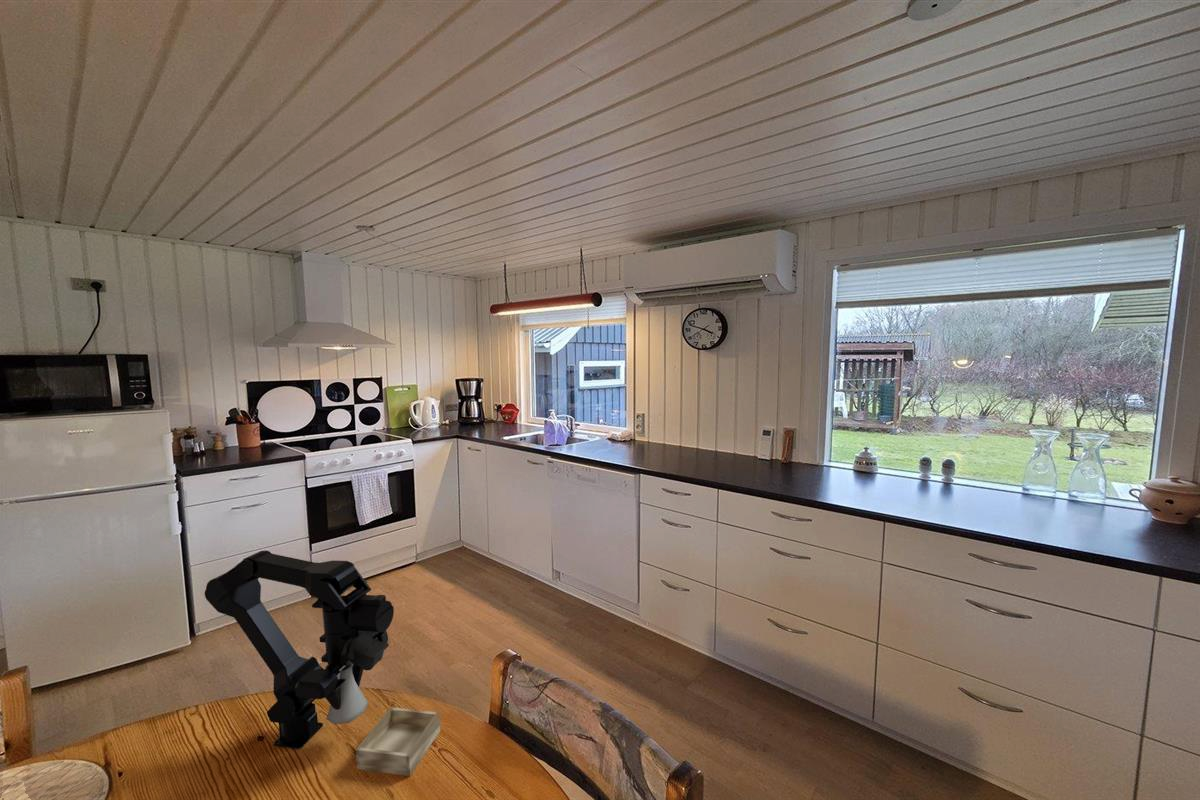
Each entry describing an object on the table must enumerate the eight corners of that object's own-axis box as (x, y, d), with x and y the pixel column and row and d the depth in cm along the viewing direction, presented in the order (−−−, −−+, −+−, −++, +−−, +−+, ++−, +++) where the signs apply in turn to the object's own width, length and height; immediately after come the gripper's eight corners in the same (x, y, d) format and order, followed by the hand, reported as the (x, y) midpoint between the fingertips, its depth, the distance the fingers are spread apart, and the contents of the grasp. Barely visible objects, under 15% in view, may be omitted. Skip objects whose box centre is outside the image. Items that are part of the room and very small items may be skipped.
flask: (350, 728, 93) (346, 679, 92) (318, 723, 95) (314, 675, 94) (375, 701, 100) (371, 656, 100) (345, 697, 102) (341, 653, 101)
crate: (357, 768, 92) (355, 749, 91) (392, 724, 103) (390, 707, 102) (410, 776, 90) (408, 756, 89) (440, 730, 101) (439, 712, 100)
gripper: (343, 659, 85) (350, 740, 87) (403, 605, 104) (408, 673, 105) (289, 654, 87) (297, 733, 89) (357, 602, 106) (363, 668, 107)
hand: (346, 699), depth 97 cm, fingers closed on flask, 5 cm apart
